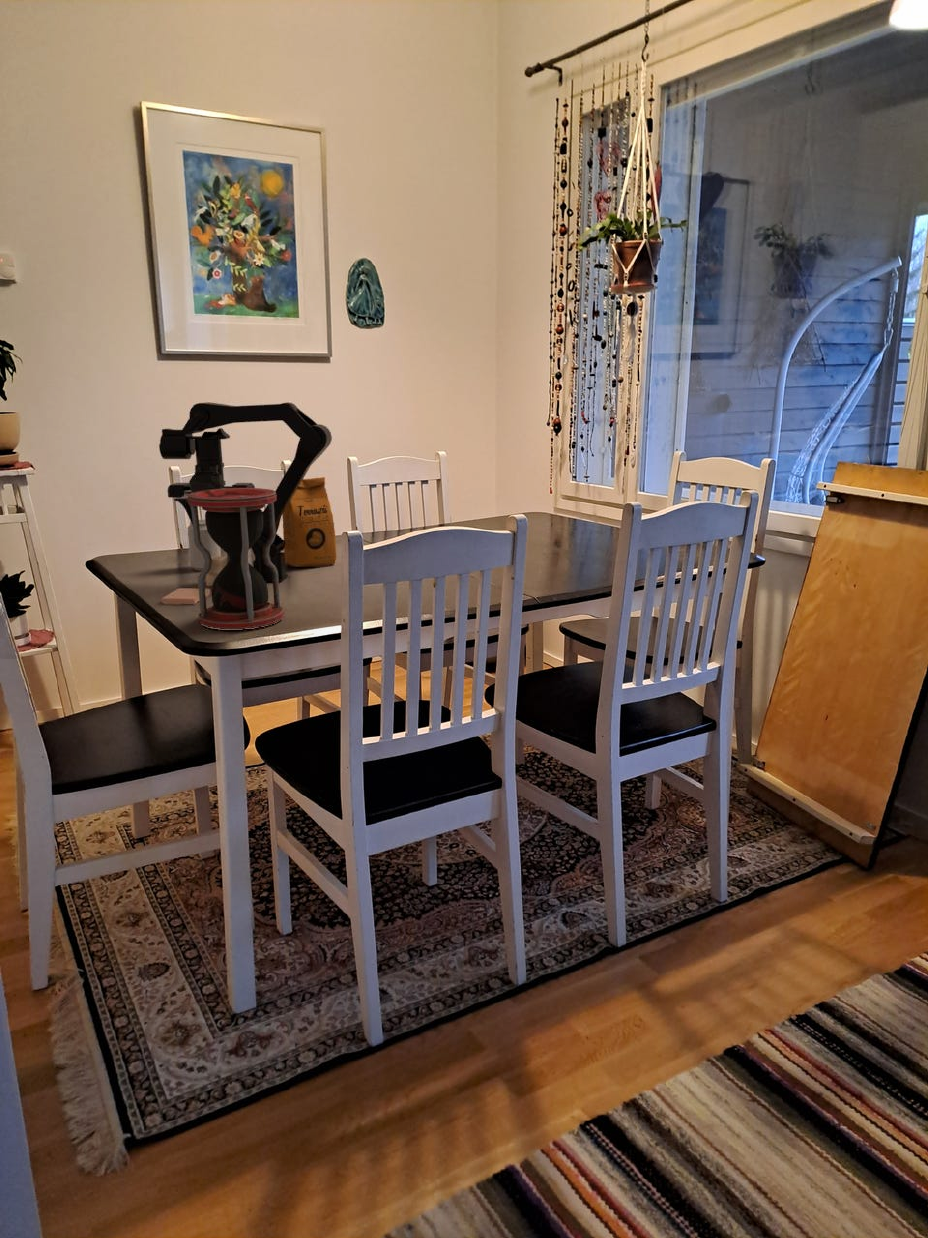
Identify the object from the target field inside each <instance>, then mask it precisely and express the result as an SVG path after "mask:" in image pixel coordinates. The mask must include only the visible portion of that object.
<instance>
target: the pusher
mask: <svg viewBox="0 0 928 1238" xmlns="http://www.w3.org/2000/svg"><path fill="white" fill-rule="evenodd" d="M211 558H212V564H211V569H210V570H209V572H208V573H207V574H206V577H205V583H206V586H209V587H212V585H213V582H214V580H215V578H216V577H217V575H218V574H219V573H220V571H221V570H222V569H223V568H224V567H225V566H226V565H227V556H221V557H211ZM204 562H205V560H204Z"/></svg>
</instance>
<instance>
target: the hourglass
mask: <svg viewBox="0 0 928 1238" xmlns="http://www.w3.org/2000/svg"><path fill="white" fill-rule="evenodd" d="M275 491H276V490H273V489H269V488H257V487H255V488H221V489H211V490H203V491H197V492H192V493H190V494H188V500H189V504H190V505H191V509H192V520H193V532H194V542H195V544H196V547H197V548H198V549H199V550H200V551H201V552H202V553H203V557H204V560H205V563H204V569H203V571H200V573H199V576H198V578H197V586H198V588H197V589H199V599H200V602H199V607H200V612H199V614H198V621H200V622H199V624H200V623H201V624H203V625H205V626H208V627H213V628H220V629H245V628H254V627H261V626H265V625H269V624H273V623H275V622H277V621H279V620H281V619H282V620H283V619H284V617H285V615H284V614H285V612H284V609H283V607H282V606H281V602H280V601H281V600H280V584H279V583H280V582H279V581H278V571H277V569H276V567H275V566H274V565H273V564H272V563H271V561H270V557H269V550H270V546H271V545H272V543H273V542H274V539H275V535H276V534H277V533H275V517H274V502H275V501H276V500H277V497H276V492H275ZM266 505H268V515H269V531H270V535H269V538H268V541H267V543H266V544H265V545H264V547H263V551H262V557H263V560H264V563H265V564H266V565H267V566H268V567H269V568H270V570H271V572H272V578H273V582H272V589H273V603H271V602H269V599H270V598H269V597H270V596H269V589H268V585H267V584H268V583H267V582H265V580H264V578H263V577H262V575H261V574H260V573H259V572H258V571H257V570H256V569H255V568H254V567H253V565H252V564H251V563H250V562H249V551H250V549H252V548H251V547H252V546H253V545H254V543H255V542H256V541H257V539H258V538H259V537H260V535H261V532H262V530H263V513H262V512H263V508H264V507H266ZM199 507H201V508H202V510H203V511H205V513H204V519H205V523H206V527H207V531H208V533H209V535H210V537H211V538H212V540H213V541H214V542H215V543H216V544H217V545H218V546H219V547H220V548H221V550H223V551H224V552H225V553H226V557H227V565H226V566H225V567H224V568H223V569H222V570H221V571H220V573H219V574H218V575H217V577H216V578H215V580H214V582H213V585H212V586H211V602H212V606H209V607H208V608H207V597H205V589H206V587H205V581H206V574H207V573H208V572H209V570H210V569H211V564H212V558H211V555H210V552H209V551H208V550H207V549H206V548H204V546H203V544H202V542H201V539H200V528H199V520H200V519H199V516H200V515H199V509H198V508H199Z"/></svg>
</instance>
